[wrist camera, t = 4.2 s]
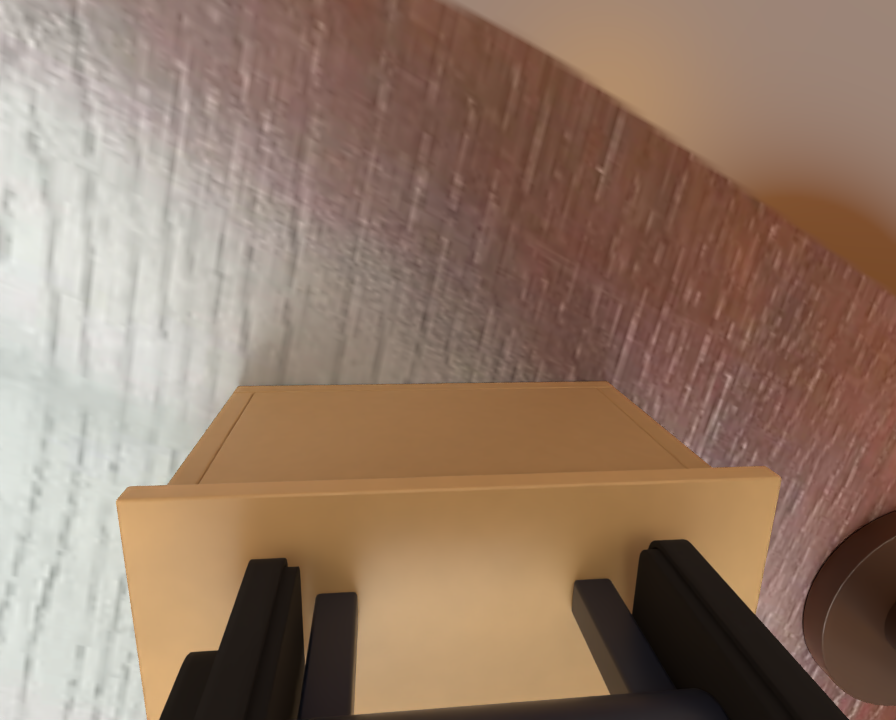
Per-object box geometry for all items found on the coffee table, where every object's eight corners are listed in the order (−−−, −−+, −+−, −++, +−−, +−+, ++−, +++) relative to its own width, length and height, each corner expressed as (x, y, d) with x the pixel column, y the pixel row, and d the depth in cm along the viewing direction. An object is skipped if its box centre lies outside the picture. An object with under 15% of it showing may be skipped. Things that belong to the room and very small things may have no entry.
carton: (237, 385, 17) (134, 526, 10) (607, 380, 18) (756, 502, 11) (264, 742, 21) (204, 1039, 13) (573, 717, 22) (670, 975, 15)
